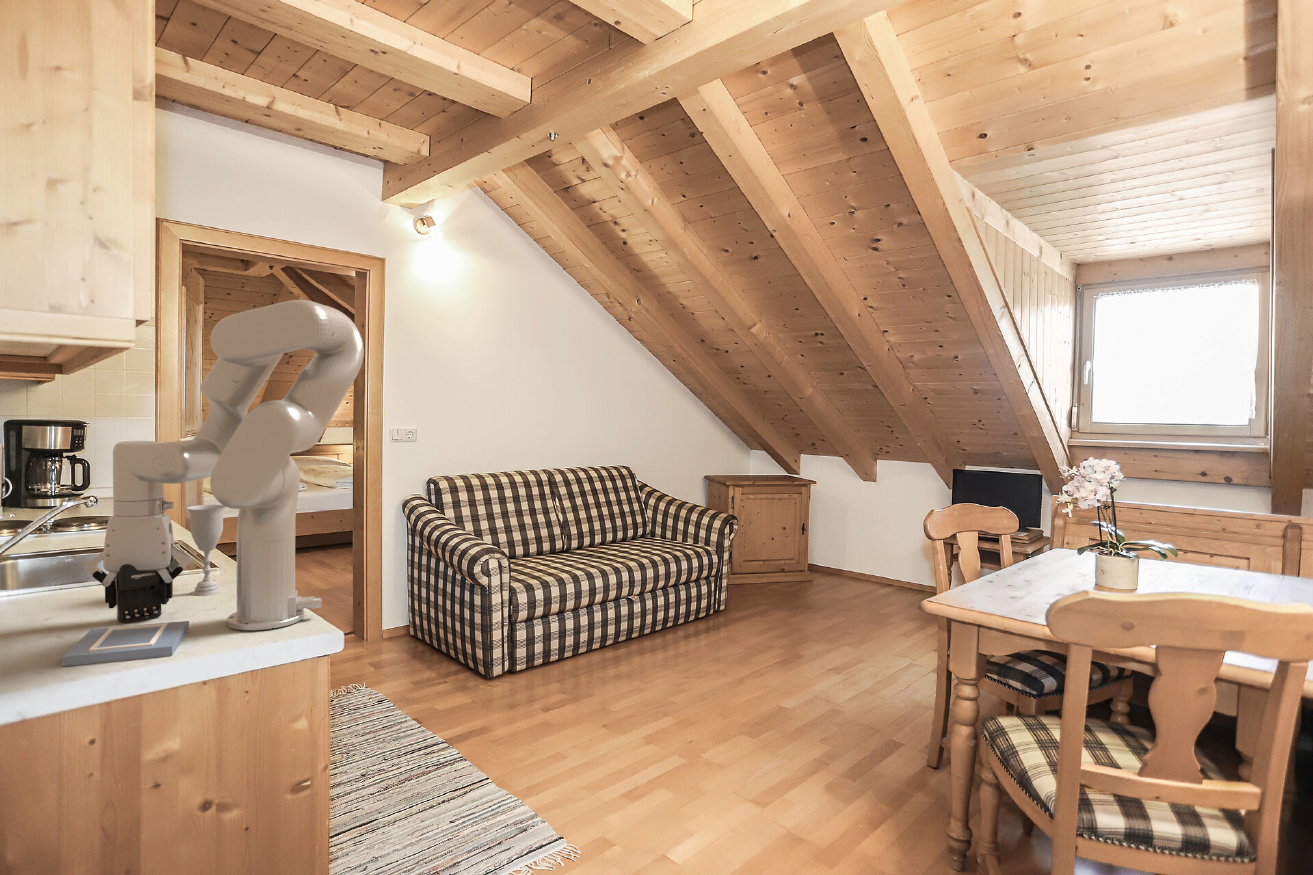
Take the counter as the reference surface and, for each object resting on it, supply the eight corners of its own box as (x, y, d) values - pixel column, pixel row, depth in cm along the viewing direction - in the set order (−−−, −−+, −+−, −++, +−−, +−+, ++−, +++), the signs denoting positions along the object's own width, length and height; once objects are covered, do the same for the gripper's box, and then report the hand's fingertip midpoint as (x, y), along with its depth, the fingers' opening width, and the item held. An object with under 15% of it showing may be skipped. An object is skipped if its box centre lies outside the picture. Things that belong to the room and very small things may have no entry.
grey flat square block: (189, 629, 127) (188, 619, 127) (172, 655, 114) (172, 644, 114) (91, 637, 121) (91, 627, 121) (62, 666, 108) (62, 654, 108)
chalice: (184, 591, 150) (184, 506, 150) (221, 586, 155) (221, 503, 154) (191, 598, 145) (190, 510, 144) (229, 593, 150) (229, 508, 149)
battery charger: (120, 625, 127) (119, 562, 127) (114, 621, 130) (114, 558, 129) (166, 617, 133) (165, 556, 132) (160, 613, 135) (159, 553, 135)
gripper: (198, 504, 137) (198, 595, 138) (86, 507, 130) (87, 603, 131) (191, 510, 130) (191, 605, 131) (72, 513, 123) (73, 614, 124)
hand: (139, 603), depth 131 cm, fingers closed on battery charger, 7 cm apart
